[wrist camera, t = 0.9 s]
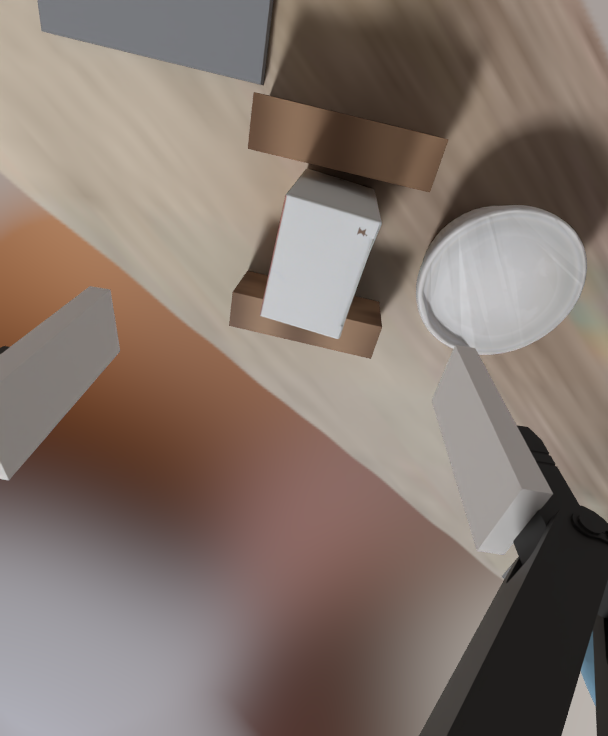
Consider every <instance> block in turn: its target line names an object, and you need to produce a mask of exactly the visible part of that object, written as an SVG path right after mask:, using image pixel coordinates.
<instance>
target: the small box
mask: <svg viewBox="0 0 608 736" xmlns="http://www.w3.org/2000/svg"><path fill="white" fill-rule="evenodd" d="M381 224H382V221H381V217H380V213H379V208H378V203H377V199H376V195H375V191H374V189H372V188H368V187H365V186H362V185H359V184H355V183H352V182H349V181H346V180H343V179H339V178H336V177H333V176H330V175H327V174H324V173H320V172H317V171H314V170H311V169H306V170H305V171H304V172H303V174H302V175H301V176H300V177H299V179H298V180H297V181H296V182H295V184H294V185H293V186H292V188H291V189H290V190H289V191H288V193H287V194H286V196H285V201H284V205H283V210H282V215H281V219H280V224H279V228H278V233H277V237H276V242H275V247H274V251H273V256H272V261H271V265H270V270H269V275H268V279H267V284H266V289H265V293H264V298H263V302H262V307H261V312H260V316H262V317H266V318H269V319H272V320H276V321H279V322H282V323H286V324H289V325H292V326H296V327H299V328H302V329H306V330H309V331H312V332H315V333H319V334H322V335H325V336H329V337H332V338H335V339H339V338H340V336H341V333H342V330H343V326H344V323H345V320H346V317H347V314H348V311H349V308H350V305H351V303H352V300H353V297H354V294H355V292H356V289H357V286H358V283H359V280H360V278H361V275H362V272H363V270H364V267H365V264H366V261H367V259H368V256H369V253H370V251H371V248H372V246H373V244H374V241H375V239H376V236H377V234H378V231H379V229H380V227H381Z"/></svg>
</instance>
